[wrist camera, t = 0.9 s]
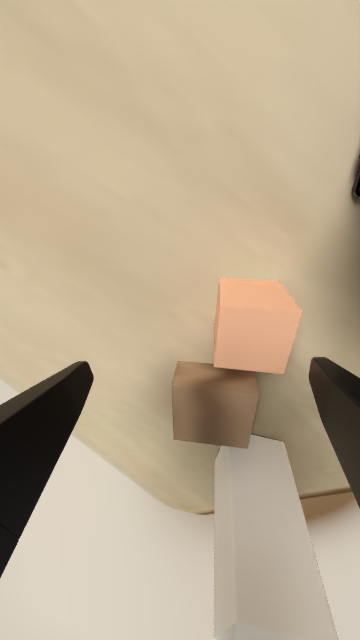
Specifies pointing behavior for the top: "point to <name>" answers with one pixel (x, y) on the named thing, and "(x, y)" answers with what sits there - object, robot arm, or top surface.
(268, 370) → the terracotta cube
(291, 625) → the milk carton
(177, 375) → the walnut block
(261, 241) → the top surface
